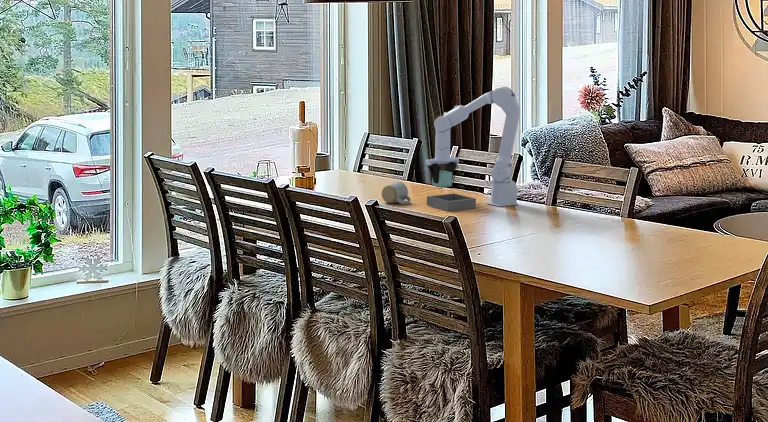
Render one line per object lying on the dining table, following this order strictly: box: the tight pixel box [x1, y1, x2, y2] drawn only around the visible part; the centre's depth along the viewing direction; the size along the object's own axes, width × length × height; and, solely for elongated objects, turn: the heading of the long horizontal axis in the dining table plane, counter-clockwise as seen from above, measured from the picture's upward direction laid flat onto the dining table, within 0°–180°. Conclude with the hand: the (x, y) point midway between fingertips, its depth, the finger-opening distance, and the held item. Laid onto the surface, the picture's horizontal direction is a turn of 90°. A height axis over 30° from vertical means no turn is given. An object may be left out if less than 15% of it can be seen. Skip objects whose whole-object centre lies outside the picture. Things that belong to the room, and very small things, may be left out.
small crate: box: [431, 170, 453, 189], centre depth 363 cm, size 5×5×6 cm
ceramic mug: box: [381, 180, 412, 205], centre depth 358 cm, size 11×8×8 cm
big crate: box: [426, 193, 477, 212], centre depth 352 cm, size 13×13×4 cm
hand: (442, 182), depth 364 cm, fingers closed on small crate, 5 cm apart
